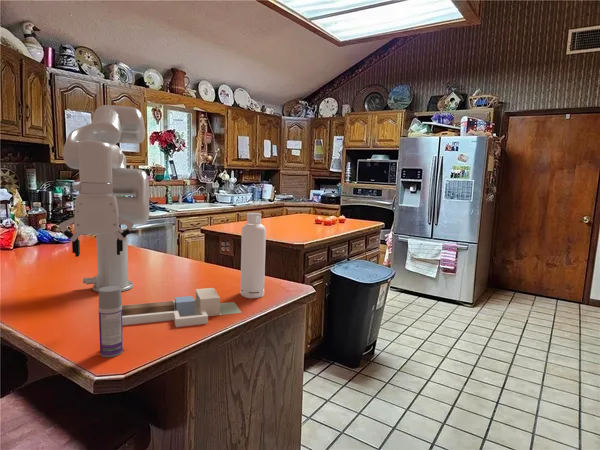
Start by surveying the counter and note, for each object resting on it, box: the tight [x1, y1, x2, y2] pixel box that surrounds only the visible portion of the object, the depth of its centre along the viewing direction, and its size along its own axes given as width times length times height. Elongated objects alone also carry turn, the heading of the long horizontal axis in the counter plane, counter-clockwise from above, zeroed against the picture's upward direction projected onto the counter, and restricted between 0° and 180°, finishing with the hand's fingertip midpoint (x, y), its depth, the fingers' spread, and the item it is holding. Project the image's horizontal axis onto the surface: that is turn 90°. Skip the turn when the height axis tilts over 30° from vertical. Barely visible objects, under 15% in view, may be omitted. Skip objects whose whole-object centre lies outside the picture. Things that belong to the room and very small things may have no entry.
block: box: [174, 295, 195, 316], centre depth 114 cm, size 5×5×4 cm
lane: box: [122, 287, 243, 328], centre depth 111 cm, size 33×15×6 cm, turn 113°
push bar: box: [122, 300, 174, 316], centre depth 110 cm, size 14×3×3 cm, turn 113°
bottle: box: [239, 212, 267, 299], centre depth 132 cm, size 8×8×28 cm
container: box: [98, 286, 124, 358], centre depth 88 cm, size 5×5×15 cm
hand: (98, 254), depth 103 cm, fingers open, 9 cm apart
